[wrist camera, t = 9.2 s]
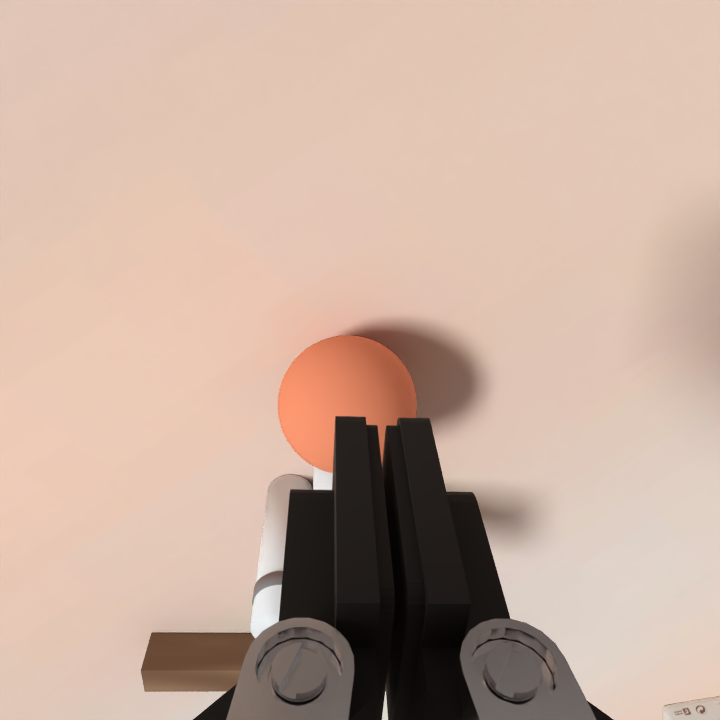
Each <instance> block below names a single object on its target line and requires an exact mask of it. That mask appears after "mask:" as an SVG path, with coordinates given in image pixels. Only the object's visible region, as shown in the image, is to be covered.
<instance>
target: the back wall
mask: <svg viewBox="0 0 720 720" xmlns="http://www.w3.org/2000/svg"><path fill="white" fill-rule="evenodd" d="M254 640H255V638H254V636H253V635H252V633H151V637H150V640H149V644H148V647H147V651H146V654H145V658H144V661H143V665H142V668H141V674H142V679H143V684H144V690H145V692H168V691H229V690H230V689H231V688H232V687H233V686H235V685H236V684H237V682H238V679H239V675H240V672H241V669H242V665H243V662H244V659H245V656H246V654H247V652H248V650H249V648H250V646H251V644H252V642H253V641H254ZM385 691H386V687H385Z"/></svg>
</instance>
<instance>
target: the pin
mask: <svg viewBox="0 0 720 720" xmlns="http://www.w3.org/2000/svg"><path fill="white" fill-rule="evenodd" d="M290 489H305V490H313V488H312V485H311V484H310V483H309V482H308V481H307V480H306V479H305V478H303V477H300V476H297V475H283V476H280V477H278V478H276V479H275V480H273V481H272V482H271V484H270V485H269V488H268V495H267V502H266V510H265V518H264V526H263V533H262V541H261V549H260V556H259V564H258V572H257V579H256V584H255V587H254V594H253V601H252V604H253V610H252V618H251V626H250V630H251V633H252V635H253V636H254V638H255V639H256V638H257V637H258V636H259V634H260V633H261V632H262V631H263V630H265V629H267V628H268V627H270V626H272V625H273V624H275V623H277V622H279V611H280V599H281V588H282V576H283V564H284V553H285V541H286V530H287V518H288V506H289V495H290Z"/></svg>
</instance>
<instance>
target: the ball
mask: <svg viewBox="0 0 720 720" xmlns="http://www.w3.org/2000/svg"><path fill="white" fill-rule="evenodd" d="M416 411H417V399H416V391H415V388H414V384H413V381H412V378H411V376H410V374H409V372H408V370H407V368H406V367H405V365H404V364H403V363H402V361H401V360H400V359H399V358H398V357H397V356H396V355H395V354H394V353H393V352H392V351H390V350H389V349H388V348H386V347H385V346H383V345H382V344H380V343H378V342H376V341H373V340H371V339H367V338H364V337H359V336H350V335H346V336H336V337H331V338H327V339H324V340H322V341H319V342H317V343H315V344H313V345H312V346H310V347H308V348H307V349H305V350H304V351H303V352H302V353H301V354H300V355H299V356H298V357H297V358H296V359H295V360H294V361H293V362H292V364H291V365H290V367H289V368H288V370H287V372H286V373H285V376H284V378H283V380H282V383H281V386H280V390H279V396H278V415H279V420H280V424H281V428H282V431H283V433H284V435H285V437H286V439H287V441H288V442H289V444H290V445H291V447H292V448H293V449H294V451H295V452H296V453H297V454H298V455H299V456H300V457H301V458H303V459H304V460H305V461H306V462H308V463H309V464H311V465H313V466H314V467H316V468H318V469H320V470H323V471H326V472H329V473H333V457H334V433H335V416H356V417H366V425H377V426H378V434H379V444H380V453H381V463H382V462H383V451H384V440H385V430H386V426H387V425H396V426H397V420H398V418H416Z"/></svg>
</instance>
